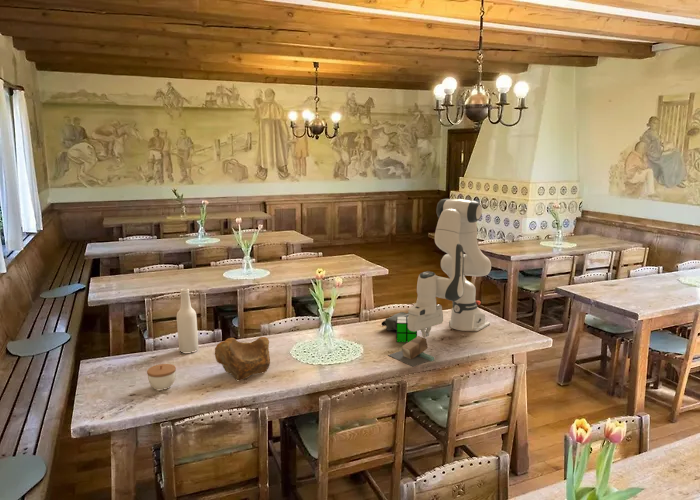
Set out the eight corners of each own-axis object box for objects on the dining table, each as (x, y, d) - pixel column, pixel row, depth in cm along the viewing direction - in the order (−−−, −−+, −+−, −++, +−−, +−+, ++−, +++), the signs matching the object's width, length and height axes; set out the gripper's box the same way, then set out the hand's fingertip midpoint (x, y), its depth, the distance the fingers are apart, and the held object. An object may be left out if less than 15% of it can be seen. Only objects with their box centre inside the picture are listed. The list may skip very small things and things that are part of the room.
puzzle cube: (416, 335, 266) (416, 316, 264) (417, 343, 256) (417, 323, 254) (396, 335, 267) (396, 316, 265) (396, 342, 257) (396, 322, 255)
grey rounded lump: (398, 321, 288) (398, 307, 287) (416, 325, 281) (417, 311, 280) (380, 330, 274) (380, 316, 272) (398, 335, 267) (398, 320, 266)
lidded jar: (182, 386, 211) (180, 364, 209) (157, 395, 203) (155, 373, 201) (168, 379, 218) (166, 357, 216) (143, 387, 210) (141, 365, 208)
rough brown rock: (217, 388, 211) (216, 354, 207) (214, 369, 226) (213, 336, 222) (275, 382, 218) (275, 349, 214) (268, 363, 233) (268, 332, 229)
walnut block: (418, 335, 244) (401, 346, 237) (426, 338, 240) (409, 349, 234) (419, 345, 245) (403, 356, 239) (427, 348, 241) (411, 359, 235)
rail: (405, 348, 249) (405, 345, 249) (434, 360, 235) (434, 356, 235) (402, 349, 248) (402, 346, 247) (431, 361, 234) (431, 358, 234)
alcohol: (175, 353, 246) (170, 290, 240) (186, 346, 254) (182, 286, 248) (191, 355, 243) (187, 292, 237) (202, 348, 251) (198, 287, 246)
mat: (403, 350, 247) (403, 349, 247) (429, 360, 234) (429, 360, 234) (388, 355, 241) (388, 355, 241) (413, 366, 228) (413, 366, 228)
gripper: (436, 301, 249) (435, 329, 251) (405, 310, 236) (405, 339, 239) (446, 304, 244) (446, 333, 246) (415, 313, 231) (415, 343, 234)
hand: (425, 336), depth 243 cm, fingers closed
